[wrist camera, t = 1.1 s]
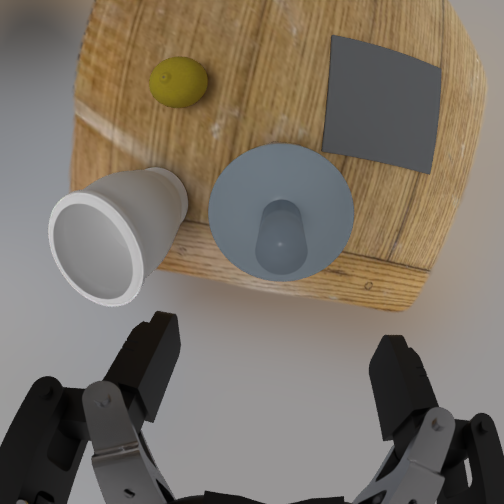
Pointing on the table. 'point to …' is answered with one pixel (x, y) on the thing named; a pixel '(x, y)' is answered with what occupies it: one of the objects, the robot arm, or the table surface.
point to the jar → (117, 232)
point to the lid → (281, 212)
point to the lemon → (178, 82)
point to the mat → (381, 105)
